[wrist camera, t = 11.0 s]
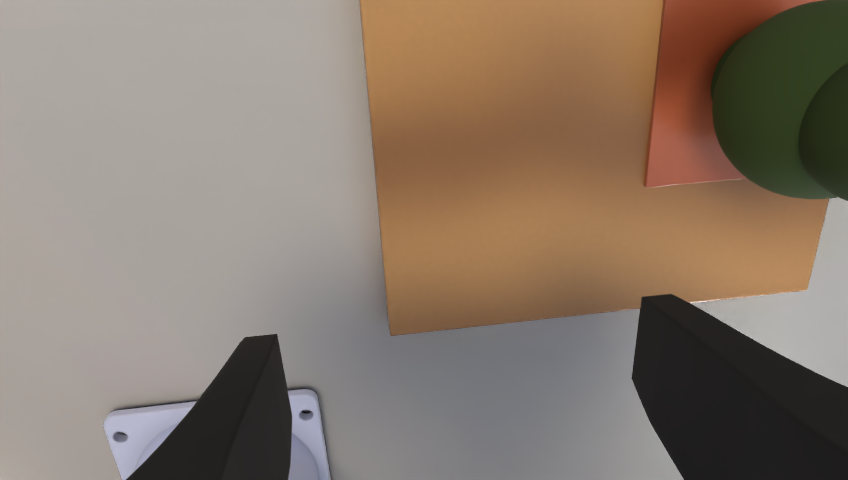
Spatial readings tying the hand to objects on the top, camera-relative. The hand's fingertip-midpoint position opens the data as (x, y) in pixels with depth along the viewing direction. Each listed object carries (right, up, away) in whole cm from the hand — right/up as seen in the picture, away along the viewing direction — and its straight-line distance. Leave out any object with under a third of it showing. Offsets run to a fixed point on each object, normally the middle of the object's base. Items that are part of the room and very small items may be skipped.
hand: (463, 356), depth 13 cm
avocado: (+10, +7, +8) cm, 15 cm away
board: (+5, +5, +10) cm, 12 cm away
